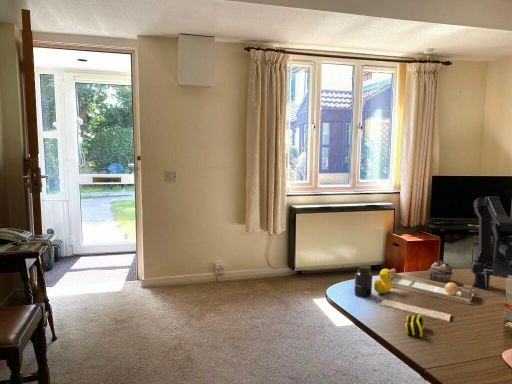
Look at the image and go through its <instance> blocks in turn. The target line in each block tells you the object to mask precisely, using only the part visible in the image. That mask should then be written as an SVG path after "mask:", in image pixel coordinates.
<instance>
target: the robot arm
mask: <svg viewBox="0 0 512 384" xmlns="http://www.w3.org/2000/svg"><path fill="white" fill-rule="evenodd" d="M503 207H504V206H503V205H502V204H501V197H499V196H484V197H478V198H476V199H475V200H474V201H473V209H474V213H475V214H476V216H477V217H478V251H477V253H476V254H475V255H474V260H473V261H472V262H471V264H470V271H471V273H472V274H473V275H474V281H473V283H472V285H471V286H472V288H475V289H476V288H477V289H481V290H482V289H483V290H484V291H490V289H491V287H492V285H491V284H490V282H491V276H493V277H498V278H499V277H500V278H503V279H508V278H509V276H512V218H511V217H509V216H508V215H507V213H506V211H505V209H504V208H503ZM492 221H493V223H492ZM492 233H493V237H494V239H495V240H494V247H493V248H494V249H493V252H492Z"/></svg>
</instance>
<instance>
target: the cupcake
mask: <svg viewBox="0 0 512 384" xmlns="http://www.w3.org/2000/svg"><path fill="white" fill-rule="evenodd" d="M450 265H451V263H450V262H449V261H442V260H441V259H439V260H436V261H434V263H433V264H431V266H430V267H429V269H428V273H429V280H430V281H435V282H440V283H445V284H447V283H449V282H451V278H452V276H453V275H452V274H453V272H452V271H453V269H452V267H451V266H450Z"/></svg>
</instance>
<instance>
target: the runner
mask: <svg viewBox="0 0 512 384" xmlns="http://www.w3.org/2000/svg"><path fill="white" fill-rule="evenodd" d="M391 282H394V283H398V284H403V285H407V286H412V287H416V288H421V289H425V290H429V291H434V292H438V293H443V294H447V295H451V294H448V293H447V292H446V291H445V288H442V287H437V286H433V285H428V284H423V283H419V282H414V281H409V280H405V279H400V278H394V279H393V280H392V281H391ZM474 295H475V293H474V294H472V296H471V298H470V303H471V302H472V299H473V297H474ZM452 296H456V297H461V291H458V292H457V293H456V294H454V295H452Z"/></svg>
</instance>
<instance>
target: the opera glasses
mask: <svg viewBox="0 0 512 384" xmlns="http://www.w3.org/2000/svg"><path fill="white" fill-rule="evenodd" d="M424 317H425V316H422V315H418V314H417V315H411V316H410V315H407V316H406V323H404V324H405V330H406V335H412V336H418V337H420V338H422V337H423V329H424V328H425V318H424Z"/></svg>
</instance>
